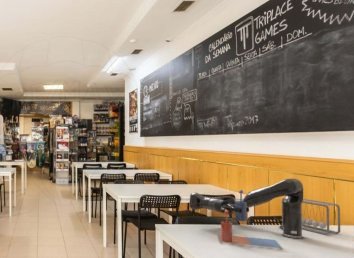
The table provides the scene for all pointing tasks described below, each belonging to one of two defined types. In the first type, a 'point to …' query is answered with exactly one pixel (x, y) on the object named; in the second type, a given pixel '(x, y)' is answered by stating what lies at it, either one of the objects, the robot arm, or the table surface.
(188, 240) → the table surface
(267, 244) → the sorting board
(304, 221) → the newton's cradle
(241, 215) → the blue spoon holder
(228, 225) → the terracotta spoon holder
